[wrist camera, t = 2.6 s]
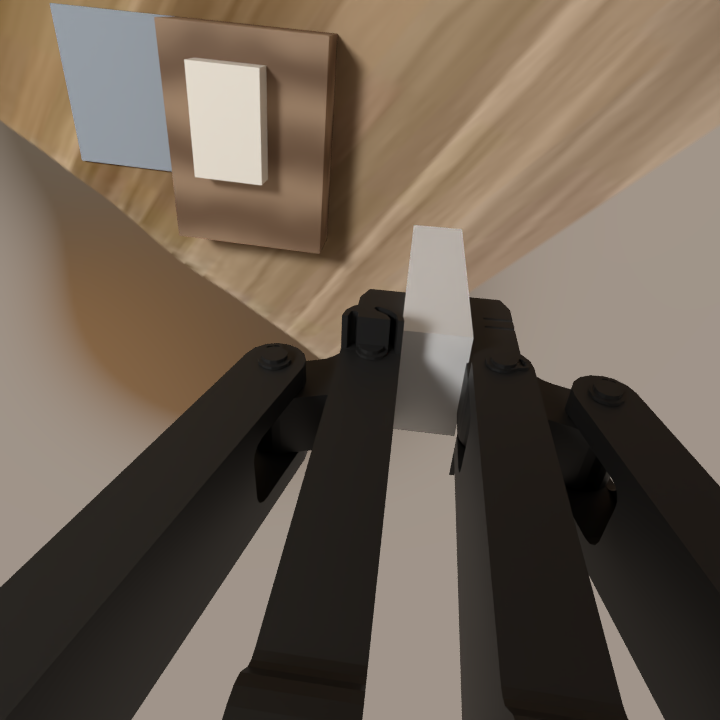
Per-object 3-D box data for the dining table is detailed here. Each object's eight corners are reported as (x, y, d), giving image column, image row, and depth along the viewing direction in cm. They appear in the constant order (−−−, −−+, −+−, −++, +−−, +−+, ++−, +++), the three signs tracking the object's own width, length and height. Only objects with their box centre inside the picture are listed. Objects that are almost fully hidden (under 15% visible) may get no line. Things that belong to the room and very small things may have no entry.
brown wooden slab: (175, 16, 44) (154, 17, 41) (337, 33, 44) (329, 35, 40) (195, 221, 55) (179, 235, 51) (326, 238, 54) (319, 253, 50)
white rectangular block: (194, 57, 42) (184, 59, 41) (266, 65, 42) (259, 67, 40) (203, 171, 47) (194, 177, 46) (268, 179, 47) (261, 185, 45)
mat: (51, 3, 45) (49, 3, 45) (175, 16, 44) (173, 16, 44) (84, 159, 52) (82, 160, 52) (190, 172, 52) (189, 173, 51)
